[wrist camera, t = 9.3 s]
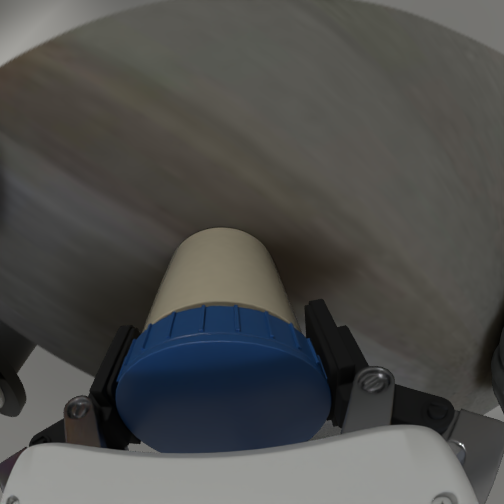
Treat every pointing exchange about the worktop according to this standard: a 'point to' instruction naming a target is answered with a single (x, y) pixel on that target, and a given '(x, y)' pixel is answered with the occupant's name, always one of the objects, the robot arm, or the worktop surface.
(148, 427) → the jam lid
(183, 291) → the jam jar
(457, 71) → the worktop surface
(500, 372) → the bundt pan
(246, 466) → the robot arm
